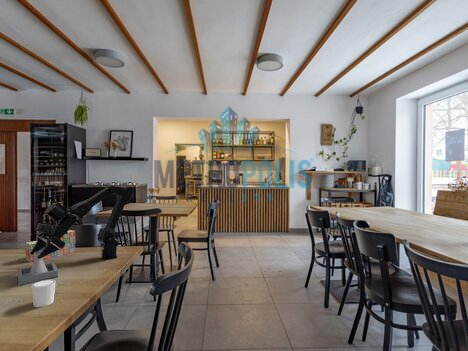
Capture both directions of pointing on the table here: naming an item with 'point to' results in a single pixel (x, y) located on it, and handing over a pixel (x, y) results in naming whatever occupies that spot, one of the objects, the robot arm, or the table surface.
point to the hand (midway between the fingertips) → (34, 256)
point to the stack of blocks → (67, 249)
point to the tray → (26, 278)
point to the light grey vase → (38, 265)
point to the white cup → (43, 292)
